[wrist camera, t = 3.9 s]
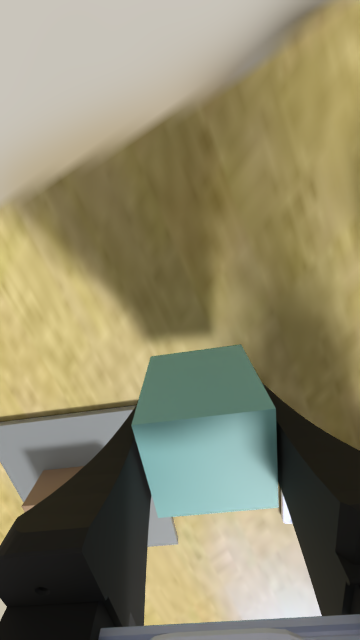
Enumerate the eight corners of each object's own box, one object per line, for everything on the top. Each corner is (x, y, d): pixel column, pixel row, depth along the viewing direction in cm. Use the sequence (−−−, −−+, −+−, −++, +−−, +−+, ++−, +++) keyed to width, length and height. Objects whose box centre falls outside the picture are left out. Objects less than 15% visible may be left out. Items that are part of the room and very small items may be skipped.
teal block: (240, 344, 12) (275, 408, 8) (246, 417, 14) (278, 507, 9) (150, 356, 13) (131, 425, 8) (166, 426, 14) (158, 517, 10)
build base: (143, 404, 19) (134, 439, 16) (178, 538, 25) (177, 584, 22) (-15, 423, 20) (-54, 460, 17) (55, 548, 26) (36, 594, 23)
